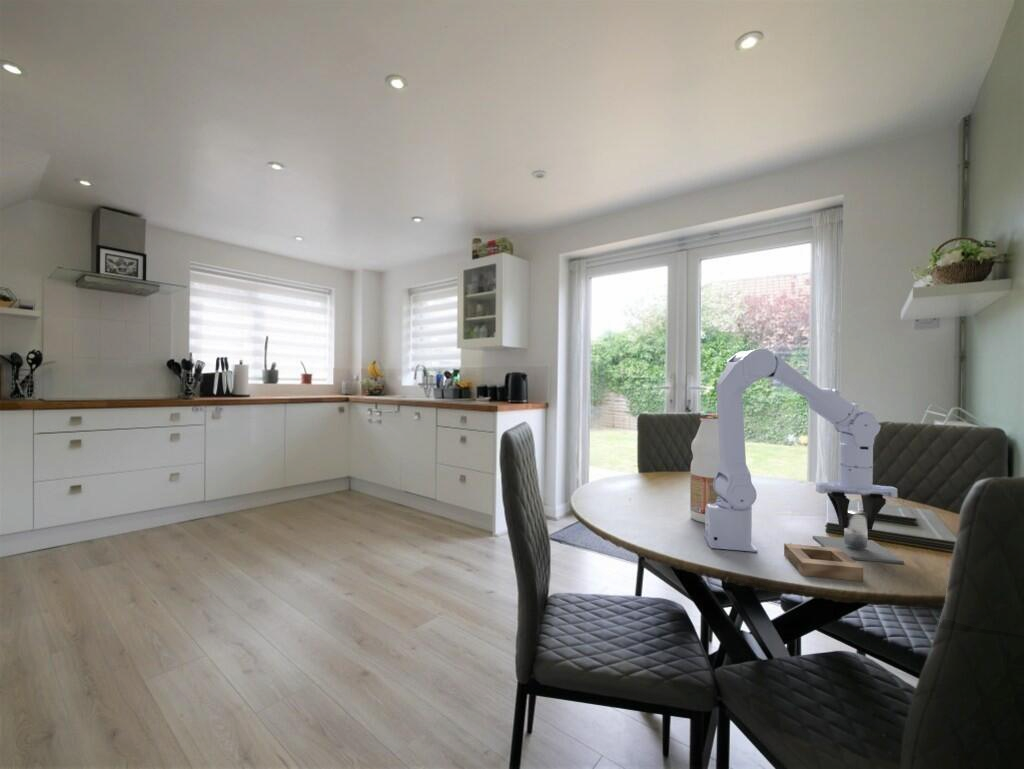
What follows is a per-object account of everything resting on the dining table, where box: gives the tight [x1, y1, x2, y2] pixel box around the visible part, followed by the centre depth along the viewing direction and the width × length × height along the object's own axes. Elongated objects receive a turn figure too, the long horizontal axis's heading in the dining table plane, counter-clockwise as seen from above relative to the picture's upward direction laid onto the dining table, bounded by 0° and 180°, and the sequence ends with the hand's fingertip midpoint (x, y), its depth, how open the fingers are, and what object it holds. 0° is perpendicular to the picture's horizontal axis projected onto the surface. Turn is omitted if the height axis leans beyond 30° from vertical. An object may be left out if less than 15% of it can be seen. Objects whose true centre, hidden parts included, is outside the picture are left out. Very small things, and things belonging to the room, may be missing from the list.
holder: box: [783, 543, 864, 582], centre depth 89 cm, size 10×10×2 cm
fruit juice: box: [689, 413, 720, 524], centre depth 119 cm, size 9×9×28 cm
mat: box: [812, 535, 905, 565], centre depth 98 cm, size 12×12×1 cm
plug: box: [843, 509, 869, 548], centre depth 97 cm, size 4×4×7 cm
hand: (855, 527), depth 98 cm, fingers open, 4 cm apart
